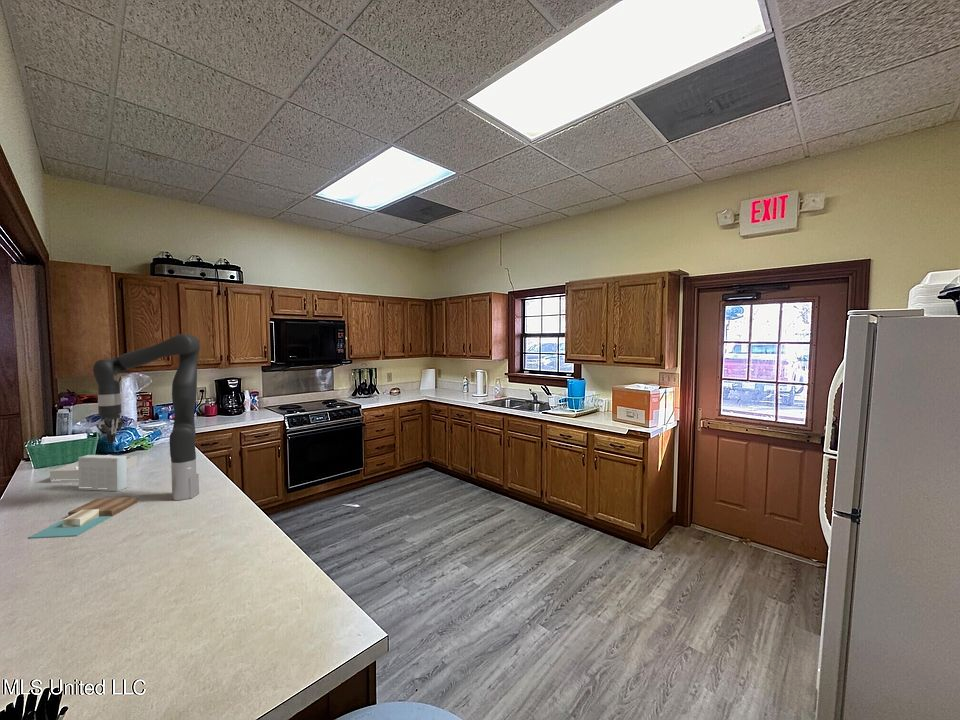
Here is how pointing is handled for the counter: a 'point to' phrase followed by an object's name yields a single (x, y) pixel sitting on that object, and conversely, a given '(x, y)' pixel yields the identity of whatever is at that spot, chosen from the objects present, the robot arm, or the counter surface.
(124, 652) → the counter surface
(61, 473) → the white stepped block
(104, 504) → the brown flat block
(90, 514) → the beige block
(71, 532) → the mat
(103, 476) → the skincare box
